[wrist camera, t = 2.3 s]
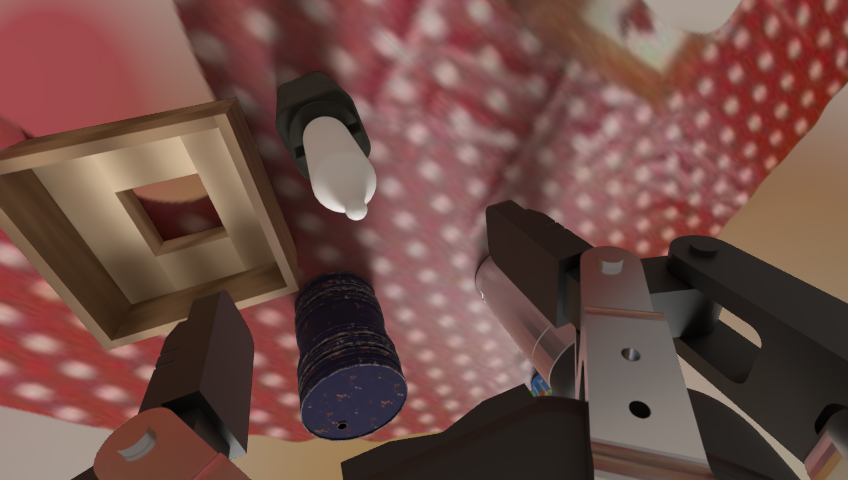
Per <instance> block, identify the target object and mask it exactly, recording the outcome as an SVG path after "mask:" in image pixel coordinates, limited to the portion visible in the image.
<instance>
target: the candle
mask: <svg viewBox="0 0 848 480" xmlns="http://www.w3.org/2000/svg"><path fill="white" fill-rule="evenodd" d="M276 129H277V131H278V134H279V135H280V137H281V139H282V141H283V143H284V145H285V146H286V148H287V150H288V152H289V154H290V155H291V157H292V159H293V161H294V163H295V165H296V166H297V168H298V170H299V172H300V173H301V174H302V176H304V177H305V178H306V179H309V180H311V185H312V189H313V192H314V194H315V196H316V198H317V199H318V200H319V202H320V203H321V204H323V205H324V206H325V207H326V208H328V209H330V210H333V211H336V212H341V213H345V212H346V215H347V216H348V217H349V218H350V219H352V220H360V219H362V218H364V217H365V215H366V214H367V205H366V204H367V203H368V202H369V201H370V200H371V198H372V196H373V194H374V192H375V188H376V175H375V171H374V169H373V167H372V165H371V163H370V162H369V160H368V159H367V158H368V156H369V154H370V150H371V145H370V141H369V139H368V136H367V134H366V132H365V129H364V127H363V124H362V122H361V119H360V117H359V115H358V112H357V110H356V107H355V105H354V102H353V100H352V99H351V97H350V96H349V95H348V94H347V93H346V92H345V91H344V90H343V89H342V88H341V87H340V86H339V85H337V84H336V83H335V82H334V81H333V80H332V79H331V78H330V77H329V76H328V75H327V74H325V73H323V72H318V71H317V72H313V73H310V74H308V75H305V76H303V77H300V78H298V79H295V80H293V81H290V82H288V83H285V84H283V85H282V86H281V87H280V88H279V90H278V94H277V110H276Z"/></svg>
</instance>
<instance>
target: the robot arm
mask: <svg viewBox="0 0 848 480" xmlns="http://www.w3.org/2000/svg"><path fill="white" fill-rule="evenodd" d="M486 223H487V235H488V247H489V252H490V255H489V256H488V257H487V258H486V259H485V260H484V262H483V263H482V265H481V266H480V268H479V270H478V272H477V275H476V281H475V285H476V289H477V291H478V293H479V295H480V296H481V297H482V299H483V300H484V302H485V303H486V304H487V305H488V307H489V308H490V309H491V311H492V312H493V313H494V315H495V316H496V317H497V319H498V320H499V321H500V323H501V324H502V325H503V326H504V328H505V329H506V330H507V332H508V333H509V334H510V336H511V337H512V338H513V340H514V341H515V342H516V344H517V345H518V346H519V348H520V349H521V350H522V351H523V353H524V354H525V355H526V357H527V358H528V359H529V361H530V362H531V363H532V365H533V366H534V367H535V369H536V370H537V371H538V372H539V374H540V375H541V376H542V378H543V379H544V380H545V382H546V383H547V384H548V386H549V387H550V388H551V390H552V391H553V393H554V394H555V395H556V396H552V395H547V396H533V395H532V394H531V392H530V391H529V389H528V388H527V387H526V385H525V384H522V385H519V386H517V387H515V388H512V389H510V390H508V391H506V392H503V393H501V394H499V395H496V396H494V397H492V398H489V399H487V400H485V401H483V402H481V403H480V404H479V405H477V406H476V407H475V408H474V409H472V410H471V411H470V412H468V413H467V414H466V415H465V416H463V417H462V418H461V419H459V420H458V421H457V422H456V423H454V424H453V425H452V426H450V427H449V428H448V429H447V430H445V431H443V432H441V433H438V434H432V435H427V436H421V437H414V438H408V439H402V440H397V441H390V442H387V443H385V444H383V445H381V446H378V447H376V448H374V449H371V450H369V451H367V452H364V453H362V454H360V455H358V456H355V457H353V458H350V459H348V460H346V461H343V462H341V468H342V475H343V480H800V479H799V477H798V476H797V475H796V474H795V473H794V472H793V470H792V469H791V468H790V467H789V466H788V465H787V464H786V462H785V461H784V460H783V459H782V458H781V457H780V456H779V454H778V453H777V452H776V451H775V450H774V449H773V448H772V447H771V445H770V444H769V443H768V442H767V441H766V440H765V439H764V438H763V437H762V436H761V435H760V434H759V432H758V431H757V430H756V429H755V428H754V427H753V426H752V425H751V424H749V423H748V422H747V421H746V420H745V419H744V418H743V417H741V416H740V415H739V414H738V413H736V412H735V411H734V410H732V409H731V408H729V407H728V406H726V405H725V404H723V403H721V402H720V401H718V400H716V399H714V398H712V397H710V396H708V395H706V394H704V393H701V392H698V391H695V390H692V389H688V388H686V384H685V381H684V377H683V374H682V370H681V367H680V363H679V360H678V357H677V354H678V355H679V356H680V357H681V358H683V359H684V360H685V361H686V362H687V363H688V364H689V365H691V366H692V367H693V368H694V369H695V370H696V371H698V372H699V373H700V374H701V375H702V376H703V377H704V378H706V379H707V380H708V381H709V382H710V383H711V384H713V385H714V386H715V387H716V388H717V389H718V390H719V391H721V392H722V393H723V394H724V395H725V396H726V397H727V398H729V399H730V400H731V401H732V402H733V403H734V404H736V405H737V406H738V407H739V408H740V409H741V410H742V411H744V412H745V413H746V414H747V415H748V416H749V417H751V418H752V419H753V420H754V421H755V422H756V423H757V424H759V425H760V426H761V427H762V428H763V429H764V430H765V431H767V432H768V433H769V434H770V435H771V436H772V437H774V438H775V439H776V440H777V441H778V442H779V443H780V444H782V445H783V446H784V447H785V448H786V449H787V450H789V451H790V452H791V453H792V454H793V455H794V456H795V457H797V458H798V459H799V460H800V461H801V462H803V464H805V469H806V471H807V474H808V476H809V477H810V479H811V480H848V303H845V302H843V301H842V300H840V299H838V298H836V297H833V296H831V295H830V294H828V293H826V292H824V291H821V290H820V289H818V288H816V287H814V286H812V285H810V284H808V283H806V282H804V281H802V280H800V279H798V278H796V277H794V276H792V275H790V274H788V273H786V272H784V271H782V270H780V269H778V268H776V267H774V266H772V265H770V264H768V263H766V262H764V261H762V260H760V259H758V258H756V257H754V256H752V255H750V254H748V253H746V252H744V251H742V250H740V249H738V248H736V247H734V246H732V245H730V244H728V243H726V242H724V241H722V240H719V239H716V238H712V237H707V236H700V235H689V236H682V237H679V238H676V239H675V240H673V241H672V242H671V244H670V247H669V251H668V256H660V257H652V258H643V259H639V258H638V257H637V256H636V255H635V254H634V253H632V252H630V251H628V250H625V249H622V248H619V247H613V246H600V247H593V246H592V245H590V244H589V243H587V242H586V241H584V240H583V239H581V238H580V237H578V236H577V235H575V234H574V233H572V232H571V231H569V230H568V229H564V227H563V226H562V225H560V224H559V223H557V222H556V223H555V221H554V220H553V219H551V218H550V217H548V216H547V215H545V214H544V213H540V212H537V211H534V210H530V209H527V210H525V209H523V208H522V207H520V206H519V205H518V204H516V203H515V202H513V201H512V200H506V201H503V202H500V203H497V204H493V205H490V206H488V207H487V208H486ZM722 307H724V308H725V309H727V310H728V311H730V312H731V313H733V314H734V315H736V316H737V317H739V318H740V319H742V320H743V321H745V322H746V323H748V324H749V325H751V326H752V327H753V328H754V329H755V330H756V331H757V333H758V334H759V336H760V339H761V343H762V346H761V348H759V347H758V346H756V345H755V344H753V343H752V342H751V341H749V340H748V339H746V338H745V337H743V336H742V335H740V334H739V333H738V332H736V331H735V330H733V329H732V328H730V327H729V326H728V325H726V324H725V323H723V322H722V321H720V320H719V319H718V318H719V315H720V312H721V310H722ZM160 354H161V356H160V357H159V358H158V361H157V363H156V366H155V367H156V369H155V370H154V372H153V374H152V377H151V380H150V382H149V385H148V388H147V391H146V393H145V396H144V399H143V401H142V404H141V407H140V410H139V412H138V414H137V415H135V416H134V417H132V418H130V419H129V420H127V421H126V422H125V423H123V424H122V425H121V426H119V427H118V428H117V429H116V430H115V431H114V432H113V433H112V434H111V435H110V436H109V437H108V438H107V439H106V440H105V442H104V443H103V444H102V446H101V447H100V449H99V451H98V452H97V454H96V457H95V460H94V464H93V466H92V467H91V468H89V469H88V470H86V471H84V472H83V473H81V474H79V475H78V476H76V477H75V478H73V479H71V480H251V479H250V478H249V477H248V476H247V475H246V474H245V473H244V472H242V471H241V470H240V469H239V468H238V467H237V466H236V465H235V464H234V463H232V462H231V461H230V460H232V459H234V458H237V457H239V456H241V455H244V454H246V453H247V441H248V428H249V415H250V401H251V387H252V374H253V360H254V343H253V338H252V335H251V332H250V330H249V328H248V326H247V324H246V323H245V321H244V319H243V317H242V315H241V314H240V312H239V310H238V308H237V307H236V305H235V303H234V301H233V300H232V298H231V296H230V294H229V293H228V292H227V291H226V290H224V289H223V290H220V291H217V292H213V293H210V294H207V295H204V296H201V297H198V298H195V299H194V300H193V303H192V306H191V309H190V312H189V315H188V318H187V320H185V321H182V322H179V323H178V324H177V325H176V327H175V328H174V329H173V330H172V331H171V333H170V334H169V335H168V336H167V337H166V339H165V342H164V344H163V347H162V350H161V353H160Z"/></svg>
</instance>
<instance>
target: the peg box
mask: <svg viewBox="0 0 848 480" xmlns="http://www.w3.org/2000/svg"><path fill="white" fill-rule="evenodd" d="M195 173H198V174H199V177H200V178H201V181H202V182H203V185H204V187H205V189H206V191H207V193H208V195H209V197H210V199H211V201H212V203H213V205H214V207H215V209H216V211H217V213H218V215H219V217H220V219H221V221H222V223H223V225H224V226H220V227H217V228H213V229H209V230H205V231H202V232H198V233H194V234H190V235H187V236H183V237H179V238H175V239H172V240H168V241H163V239H162V237H161V236H160V234H159V232H158V231H157V229H156V227H155V226H154V224H153V222H152V221H151V219H150V217H149V216H148V214H147V213H146V211H145V209H144V208H143V206H142V204H141V203H140V201H139V199H138V198H137V196H136V194H135V193H134V191H133V190H132V188H136V187H140V186H144V185H149V184H153V183H157V182H161V181H166V180H170V179H174V178H178V177H183V176H186V175H191V174H195ZM0 228H1V229H2V230H3V231H4V232H5V234H6V235H7V236H8V237H9V238H10V239H11V241H12V242H13V243H14V244H15V245H16V246H17V248H18V249H19V250H20V251H21V252H22V253H23V255H24V256H25V257H26V258H27V259H28V260H29V262H30V263H31V264H32V265H33V266H34V267H35V268H36V270H37V271H38V272H39V273H40V274H41V275H42V277H43V278H44V279H45V280H46V281H47V282H48V284H49V285H50V286H51V287H52V288H53V289H54V291H55V292H56V293H57V294H58V295H59V296H60V298H61V299H62V300H63V301H64V302H65V303H66V304H67V306H68V307H69V308H70V309H71V310H72V311H73V313H74V314H75V315H76V316H77V317H78V318H79V320H80V321H81V322H82V323H83V324H84V325H85V327H86V328H87V329H88V330H89V331H90V332H91V334H92V335H93V336H94V337H95V338H96V339H97V340H98V342H99V343H100V344H101V345H102V346H103V347H104V349H105V350H106V351H108V350H111V349H114V348H118V347H121V346H124V345H127V344H130V343H134V342H137V341H140V340H143V339H146V338H150V337H153V336H156V335H159V334H162V333H166V332H169V331H172V330H173V329H174V328H175V327H176V325H177V324H178V323H179V322H182V321H185V320H187V318H188V315H189V312H190V309H191V306H192V303H193V300H194V299H195V298H198V297H201V296H204V295H207V294H210V293H213V292H217V291H220V290H223V289H224V290H226V291H227V292H228V293H229V294H230V296H231V298H232V300H233V301H234V303H235V305H236V307H237V308H238V310H239V309H243V308H246V307H249V306H252V305H255V304H259V303H262V302H265V301H268V300H271V299H275V298H278V297H281V296H284V295H287V294H291V293H294V292H297V291H299V279H298V265H297V250H296V247H295V244H294V241H293V239H292V236H291V234H290V231H289V229H288V226H287V224H286V221H285V219H284V216H283V213H282V211H281V208H280V206H279V203H278V201H277V198H276V196H275V193H274V190H273V188H272V185H271V183H270V180H269V178H268V175H267V173H266V170H265V167H264V165H263V162H262V160H261V157H260V155H259V152H258V150H257V147H256V144H255V142H254V139H253V137H252V134H251V132H250V129H249V127H248V124H247V122H246V119H245V116H244V114H243V111H242V109H241V106H240V104H239V101H238V99H237V97H234V98H229V99H224V100H219V101H214V102H210V103H205V104H200V105H195V106H190V107H185V108H180V109H175V110H171V111H165V112H160V113H155V114H150V115H145V116H141V117H136V118H131V119H126V120H121V121H116V122H111V123H106V124H101V125H96V126H92V127H86V128H81V129H76V130H72V131H67V132H62V133H57V134H52V135H47V136H42V137H37V138H32V139H27V140H24V141H22V142H19V143H17V144H15V145H12V146H10V147H8V148H5V149H3V150H0Z"/></svg>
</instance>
